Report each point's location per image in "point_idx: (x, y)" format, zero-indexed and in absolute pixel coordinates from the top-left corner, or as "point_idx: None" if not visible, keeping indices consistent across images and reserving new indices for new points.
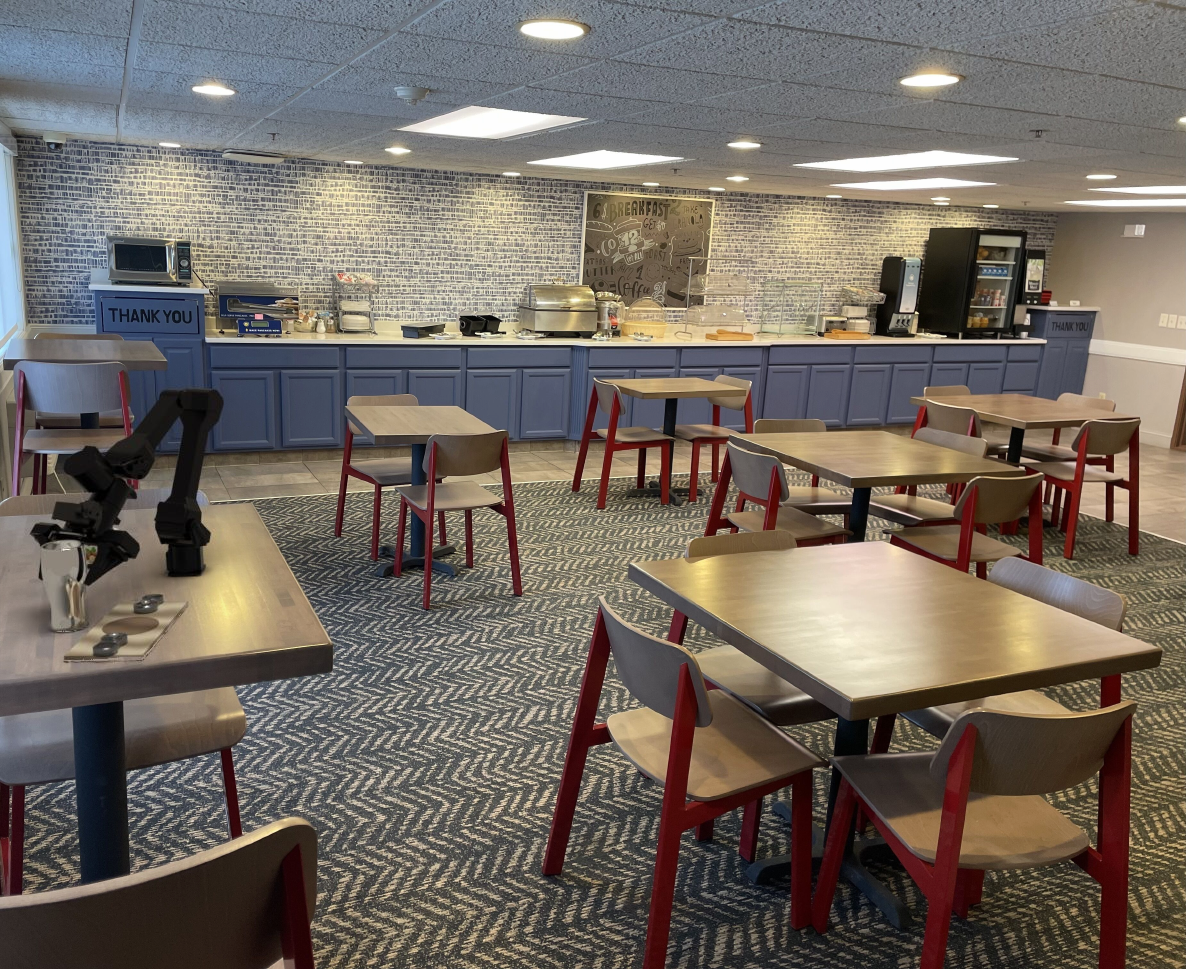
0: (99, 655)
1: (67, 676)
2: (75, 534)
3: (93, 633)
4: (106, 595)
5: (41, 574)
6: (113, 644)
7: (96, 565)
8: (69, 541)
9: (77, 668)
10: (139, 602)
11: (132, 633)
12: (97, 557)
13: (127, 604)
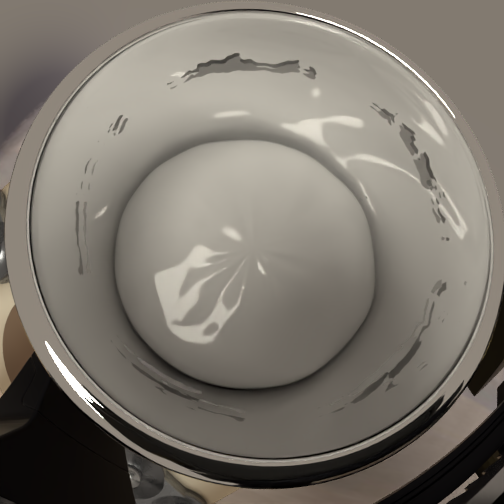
0: None
1: (11, 138)
2: (499, 475)
3: None
4: (371, 469)
5: None
6: None
7: (31, 357)
8: (449, 370)
9: (14, 162)
10: (158, 476)
11: (12, 319)
12: (25, 400)
13: None
